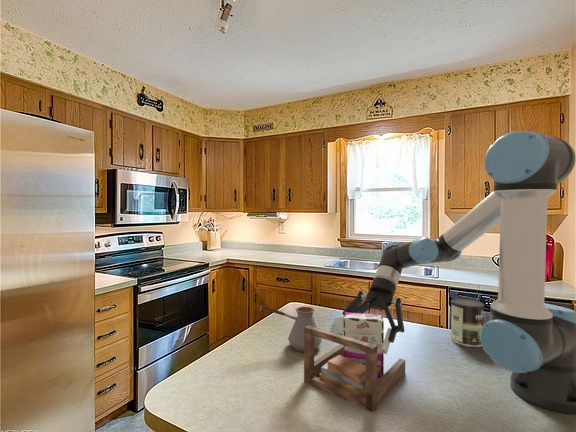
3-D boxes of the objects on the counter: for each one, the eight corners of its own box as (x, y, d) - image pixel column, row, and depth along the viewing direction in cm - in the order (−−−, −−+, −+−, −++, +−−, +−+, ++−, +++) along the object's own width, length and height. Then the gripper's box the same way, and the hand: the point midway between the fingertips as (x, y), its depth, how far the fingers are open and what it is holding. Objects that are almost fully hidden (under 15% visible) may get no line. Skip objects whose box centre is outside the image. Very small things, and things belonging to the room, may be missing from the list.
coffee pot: (317, 338, 113) (317, 297, 113) (325, 353, 102) (326, 307, 101) (258, 342, 110) (258, 300, 110) (260, 357, 99) (260, 310, 98)
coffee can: (487, 341, 111) (488, 302, 111) (477, 350, 105) (478, 308, 104) (457, 333, 119) (457, 296, 119) (445, 340, 112) (446, 301, 112)
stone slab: (330, 341, 115) (358, 339, 113) (329, 333, 115) (357, 332, 114) (333, 320, 137) (356, 319, 135) (332, 314, 137) (355, 312, 135)
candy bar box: (382, 368, 92) (383, 314, 91) (383, 378, 87) (384, 320, 86) (344, 363, 94) (344, 311, 93) (343, 373, 89) (343, 317, 88)
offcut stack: (377, 389, 81) (377, 366, 81) (366, 402, 76) (366, 377, 76) (331, 371, 90) (331, 351, 90) (318, 381, 85) (318, 359, 85)
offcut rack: (405, 374, 89) (406, 322, 89) (373, 412, 72) (373, 348, 72) (344, 353, 102) (344, 307, 102) (303, 381, 85) (304, 327, 85)
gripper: (425, 296, 96) (408, 364, 84) (355, 284, 111) (332, 340, 100) (420, 282, 92) (401, 351, 80) (348, 271, 107) (323, 328, 96)
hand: (363, 345), depth 90 cm, fingers closed on candy bar box, 12 cm apart
